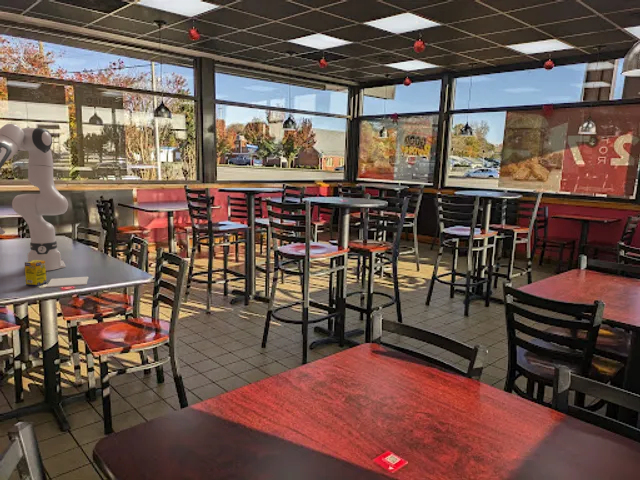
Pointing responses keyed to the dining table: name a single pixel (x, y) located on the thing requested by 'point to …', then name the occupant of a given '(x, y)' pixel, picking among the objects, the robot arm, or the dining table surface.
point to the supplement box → (35, 273)
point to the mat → (67, 282)
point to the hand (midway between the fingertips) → (3, 233)
